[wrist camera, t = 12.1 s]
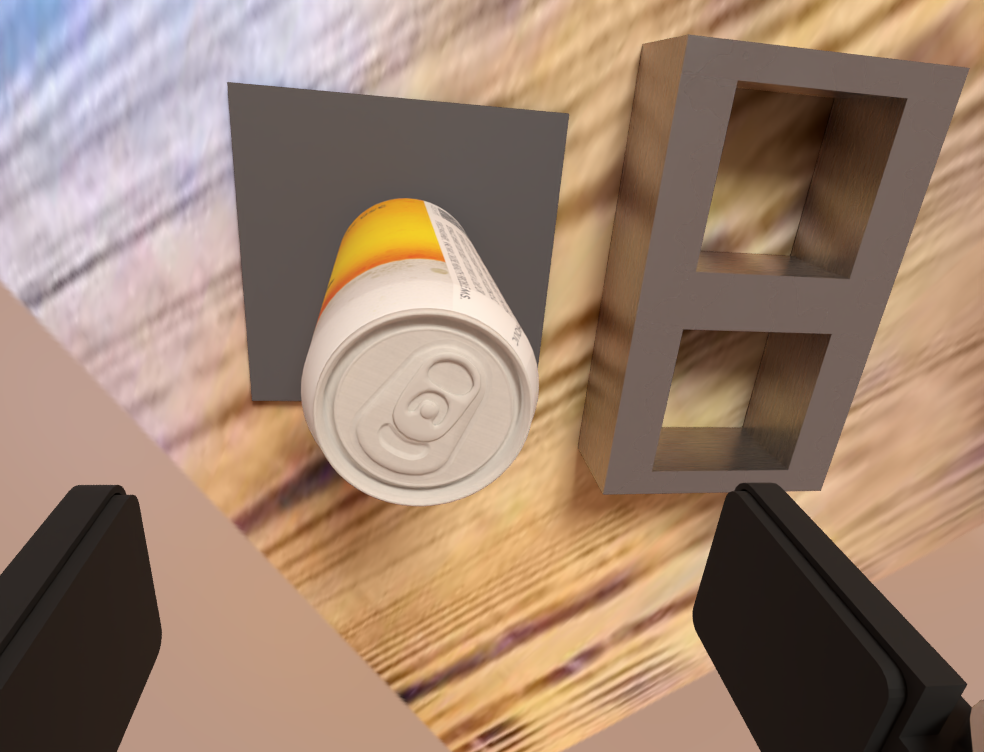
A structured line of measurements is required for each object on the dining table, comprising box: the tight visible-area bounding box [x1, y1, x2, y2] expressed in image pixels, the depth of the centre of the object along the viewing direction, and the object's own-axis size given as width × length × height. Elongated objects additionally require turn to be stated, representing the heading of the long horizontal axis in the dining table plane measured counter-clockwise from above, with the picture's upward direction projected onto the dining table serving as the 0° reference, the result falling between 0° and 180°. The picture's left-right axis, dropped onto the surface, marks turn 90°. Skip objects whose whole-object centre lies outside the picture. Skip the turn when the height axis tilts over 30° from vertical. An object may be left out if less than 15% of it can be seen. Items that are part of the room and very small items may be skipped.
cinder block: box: [578, 35, 970, 494], centre depth 30 cm, size 20×12×4 cm, turn 175°
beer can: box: [301, 198, 539, 506], centre depth 22 cm, size 6×6×15 cm
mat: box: [227, 82, 569, 401], centre depth 29 cm, size 14×14×1 cm
